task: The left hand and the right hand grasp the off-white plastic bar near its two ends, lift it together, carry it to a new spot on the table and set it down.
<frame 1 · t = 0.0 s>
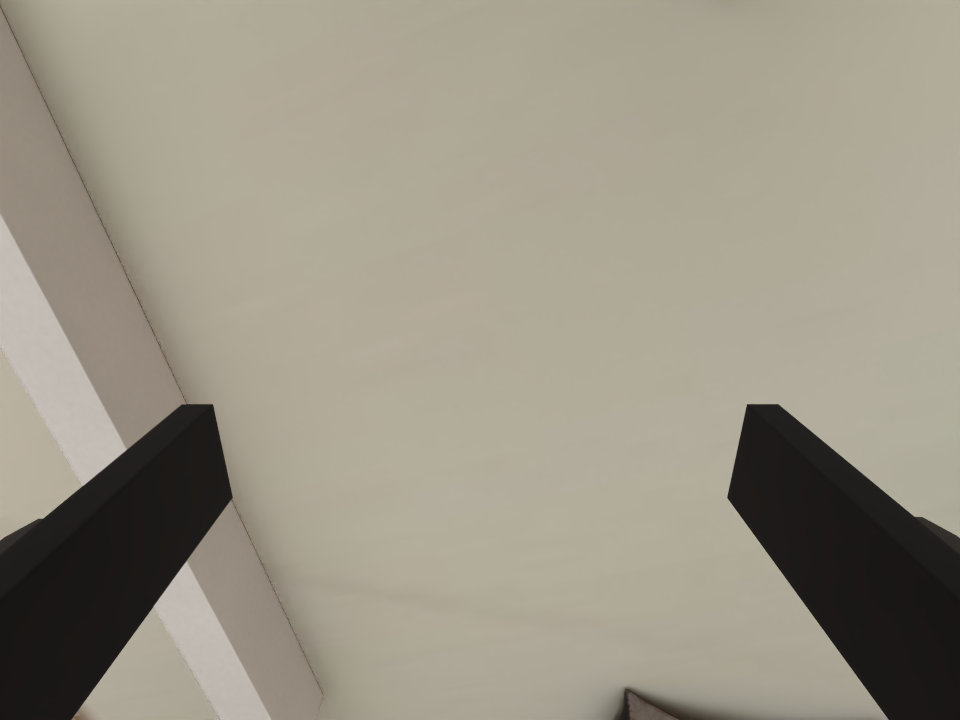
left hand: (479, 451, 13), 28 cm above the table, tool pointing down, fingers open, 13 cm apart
bar: (165, 417, 44), on the table
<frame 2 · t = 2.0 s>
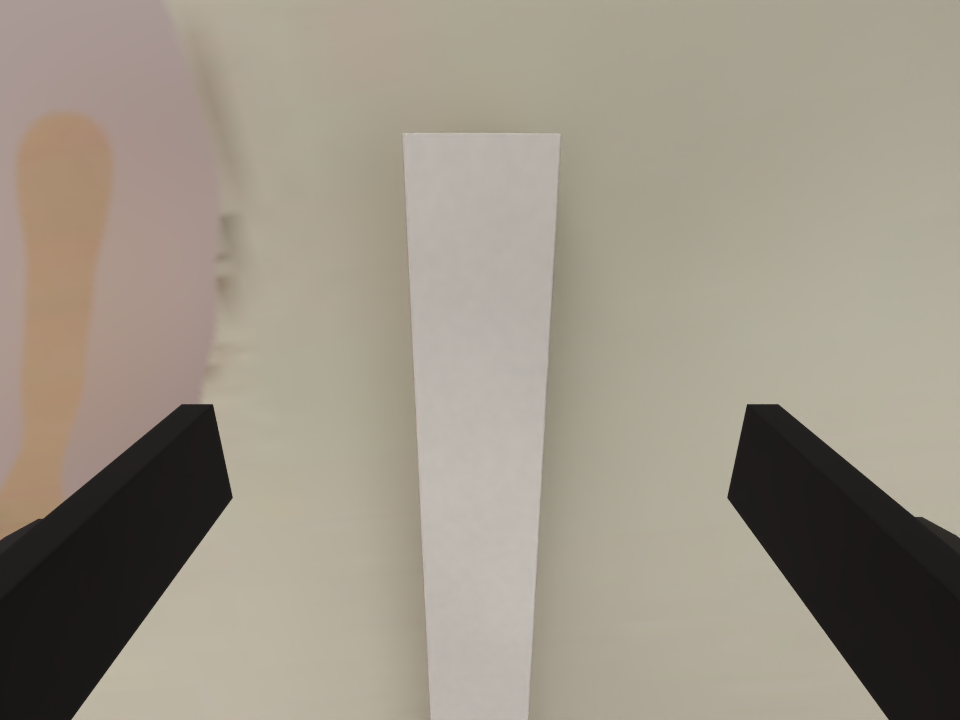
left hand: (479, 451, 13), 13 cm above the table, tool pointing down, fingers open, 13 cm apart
bar: (479, 708, 35), on the table
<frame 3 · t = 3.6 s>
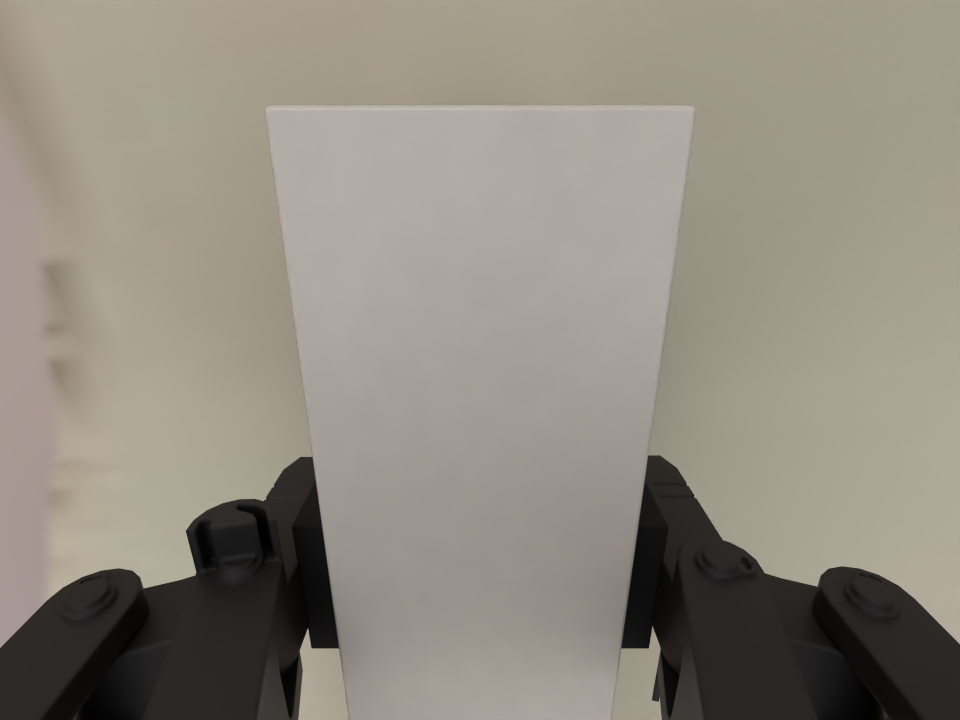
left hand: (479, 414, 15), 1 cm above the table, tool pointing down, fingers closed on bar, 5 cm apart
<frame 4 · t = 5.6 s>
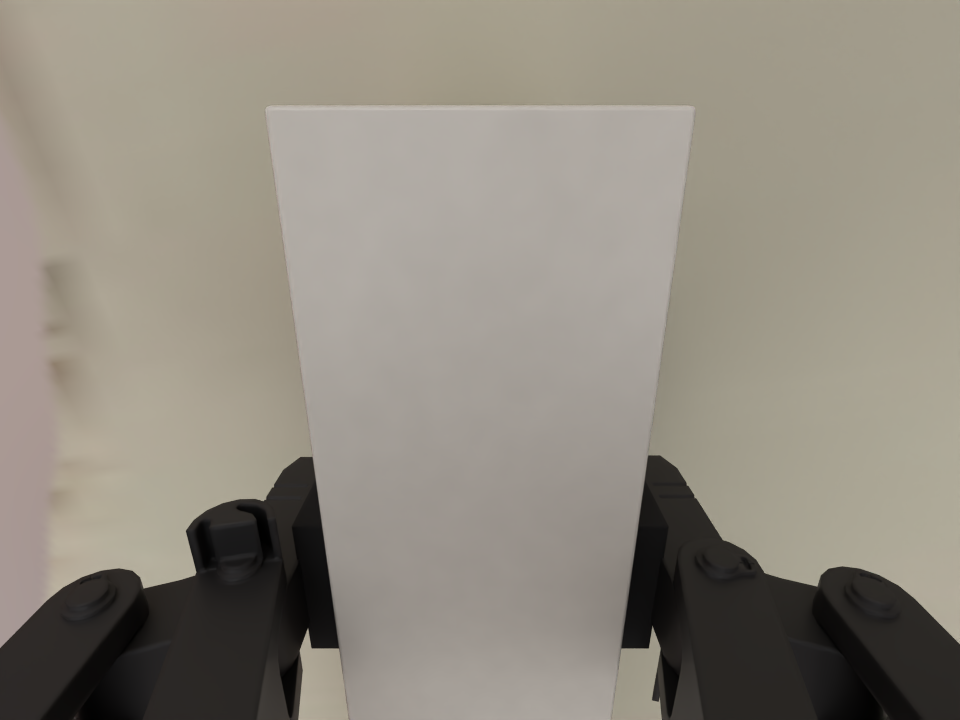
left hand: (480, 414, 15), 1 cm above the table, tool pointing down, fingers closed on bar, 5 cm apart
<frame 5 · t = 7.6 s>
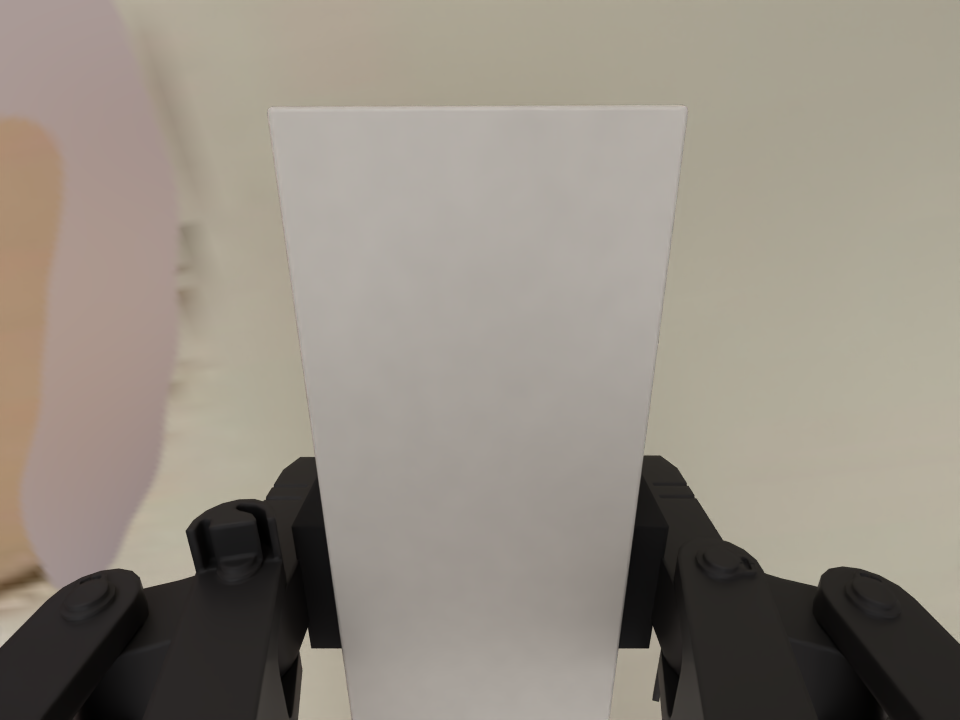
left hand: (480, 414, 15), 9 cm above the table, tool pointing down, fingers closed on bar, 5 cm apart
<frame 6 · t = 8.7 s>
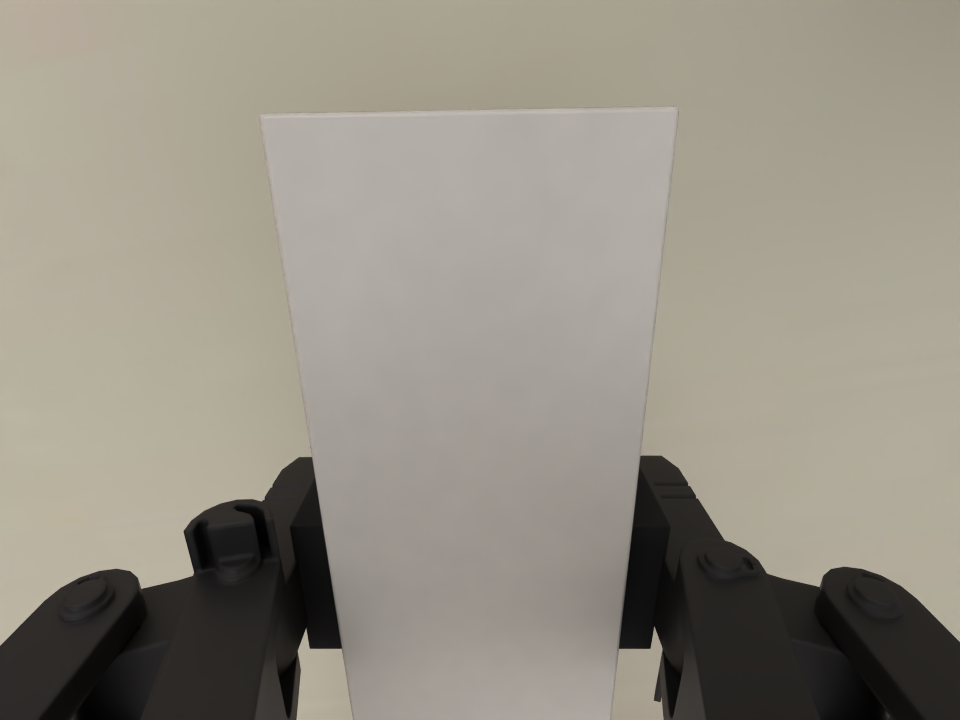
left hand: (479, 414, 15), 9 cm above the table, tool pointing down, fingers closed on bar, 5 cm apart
when the left hand's fingers open (2 cm above the table, at t = 11.5 s): bar stays where it is, on the table.
when the right hand's fingers open (4 cm above the table, at t = 11.7 s): bar stays where it is, on the table.
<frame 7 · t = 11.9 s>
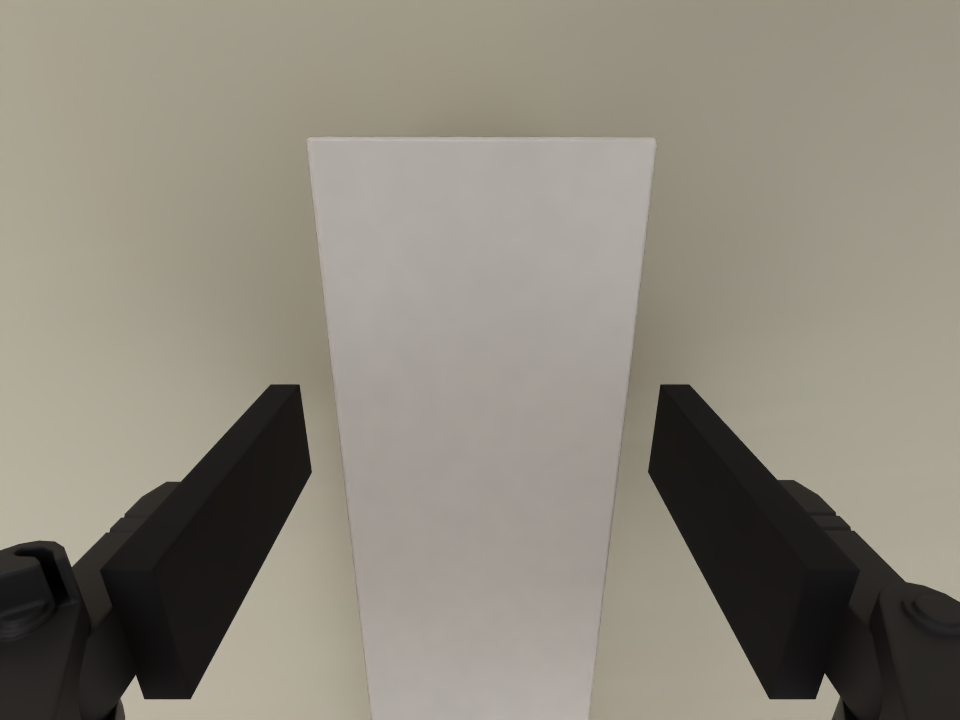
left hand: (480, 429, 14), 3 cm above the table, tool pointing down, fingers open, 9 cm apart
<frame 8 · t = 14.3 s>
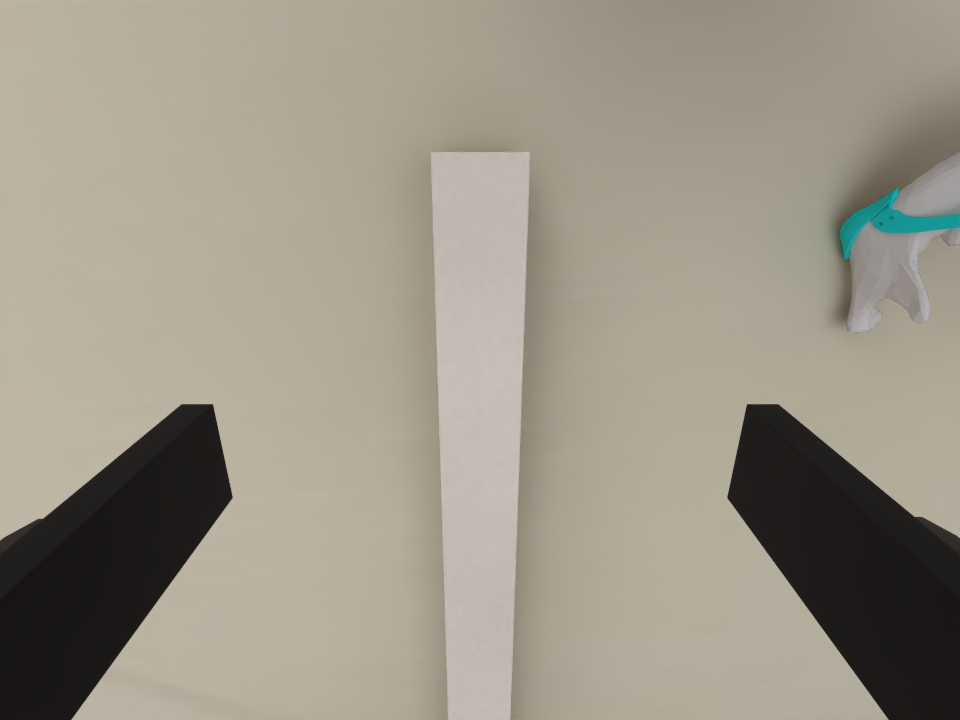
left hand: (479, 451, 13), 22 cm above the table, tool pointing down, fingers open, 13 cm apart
bar: (479, 605, 44), on the table
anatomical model: (945, 211, 32), on the table
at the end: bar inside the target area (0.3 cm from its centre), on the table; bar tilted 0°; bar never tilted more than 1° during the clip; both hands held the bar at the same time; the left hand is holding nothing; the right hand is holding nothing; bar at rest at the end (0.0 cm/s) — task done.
